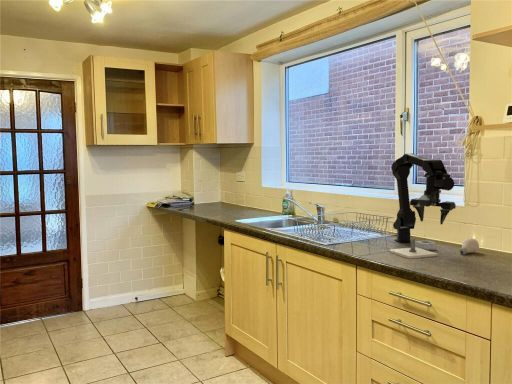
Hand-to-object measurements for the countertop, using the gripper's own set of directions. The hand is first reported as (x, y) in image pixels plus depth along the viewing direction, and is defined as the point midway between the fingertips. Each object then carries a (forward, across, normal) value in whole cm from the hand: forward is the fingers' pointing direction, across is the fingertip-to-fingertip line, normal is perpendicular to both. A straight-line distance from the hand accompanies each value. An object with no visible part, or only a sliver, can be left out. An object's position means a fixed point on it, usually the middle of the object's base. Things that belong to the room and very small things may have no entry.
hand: (431, 222), depth 206 cm
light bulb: (+12, +15, +5) cm, 20 cm away
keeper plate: (+12, -1, -13) cm, 18 cm away
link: (+12, -3, +1) cm, 13 cm away
